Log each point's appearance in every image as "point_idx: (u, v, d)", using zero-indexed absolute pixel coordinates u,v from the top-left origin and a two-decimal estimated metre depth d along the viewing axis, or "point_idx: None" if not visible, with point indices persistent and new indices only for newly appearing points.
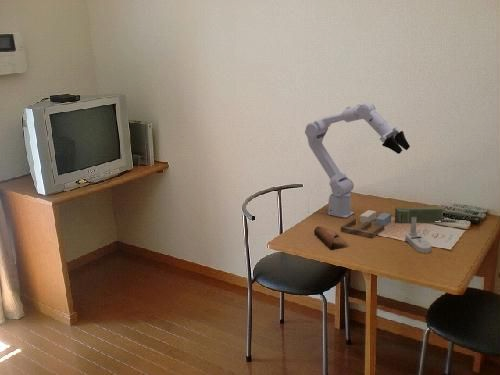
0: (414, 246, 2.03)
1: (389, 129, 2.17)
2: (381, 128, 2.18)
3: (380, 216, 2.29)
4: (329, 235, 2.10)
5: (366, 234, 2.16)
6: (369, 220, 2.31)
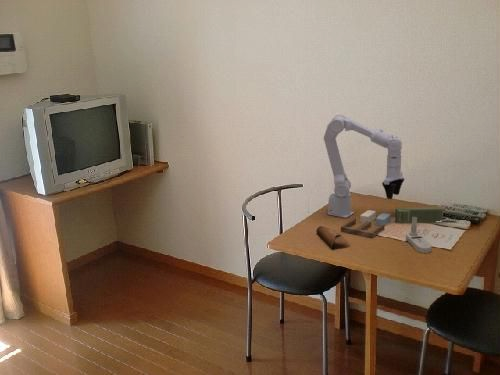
0: (414, 246, 2.03)
1: (397, 175, 2.29)
2: (392, 170, 2.28)
3: (380, 216, 2.29)
4: (331, 235, 2.10)
5: (366, 234, 2.16)
6: (369, 220, 2.31)
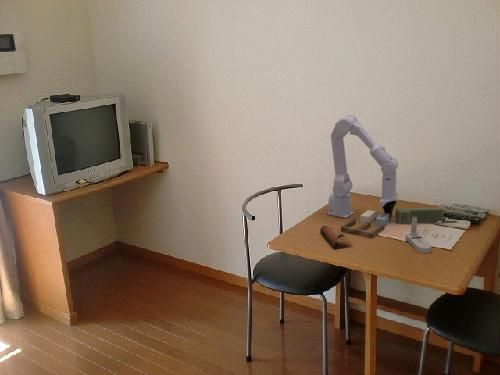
0: (414, 246, 2.03)
1: (392, 197, 2.28)
2: (387, 191, 2.27)
3: (380, 216, 2.28)
4: (333, 234, 2.11)
5: (366, 234, 2.16)
6: (369, 220, 2.31)
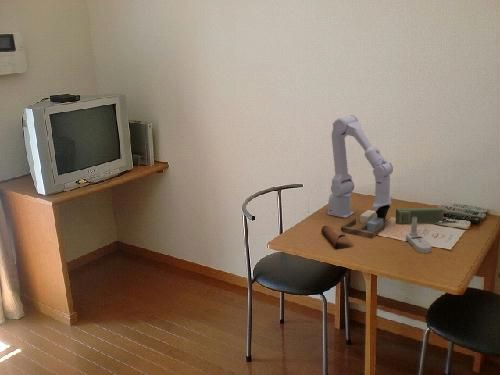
0: (414, 246, 2.03)
1: (385, 201, 2.23)
2: (381, 196, 2.22)
3: (372, 220, 2.24)
4: (334, 234, 2.11)
5: (366, 234, 2.16)
6: (369, 220, 2.31)
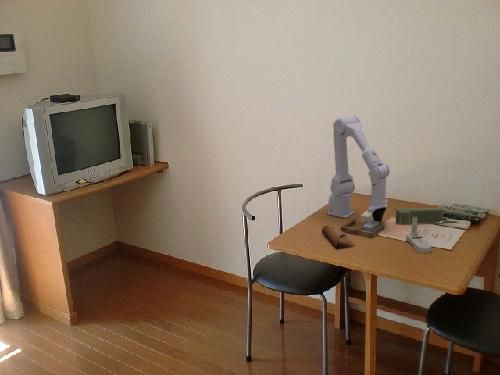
0: (414, 246, 2.03)
1: (381, 204, 2.20)
2: (377, 198, 2.20)
3: (368, 224, 2.21)
4: (335, 234, 2.11)
5: (366, 234, 2.16)
6: (369, 220, 2.31)
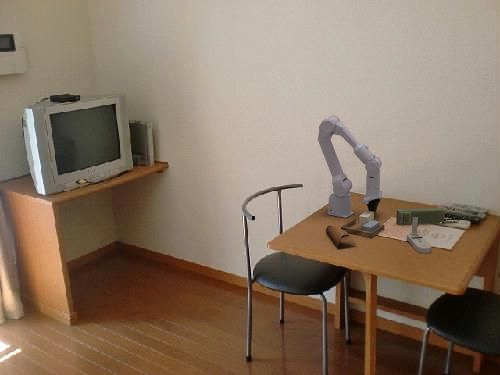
0: (414, 246, 2.03)
1: (376, 195, 2.32)
2: (371, 189, 2.31)
3: (368, 224, 2.21)
4: (338, 234, 2.11)
5: (366, 234, 2.16)
6: (368, 220, 2.30)
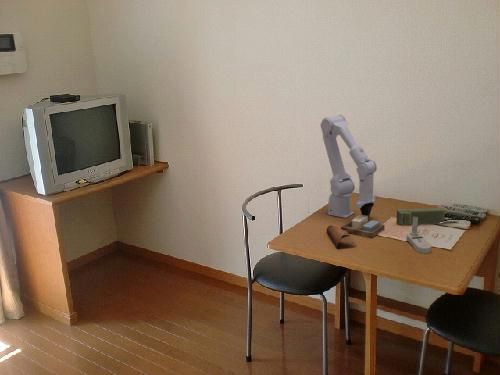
0: (414, 246, 2.03)
1: (369, 199, 2.27)
2: (364, 193, 2.26)
3: (368, 224, 2.21)
4: (338, 234, 2.11)
5: (366, 234, 2.16)
6: None
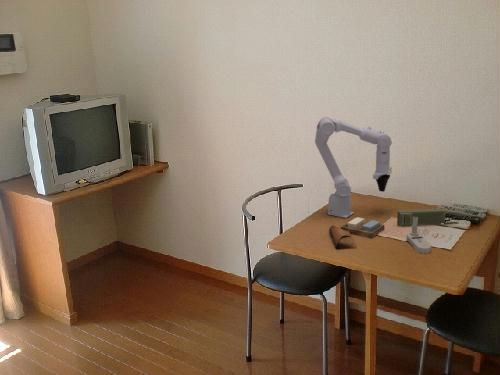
0: (414, 246, 2.03)
1: (386, 170, 2.33)
2: (381, 165, 2.33)
3: (368, 223, 2.21)
4: (338, 235, 2.10)
5: (366, 234, 2.16)
6: None
